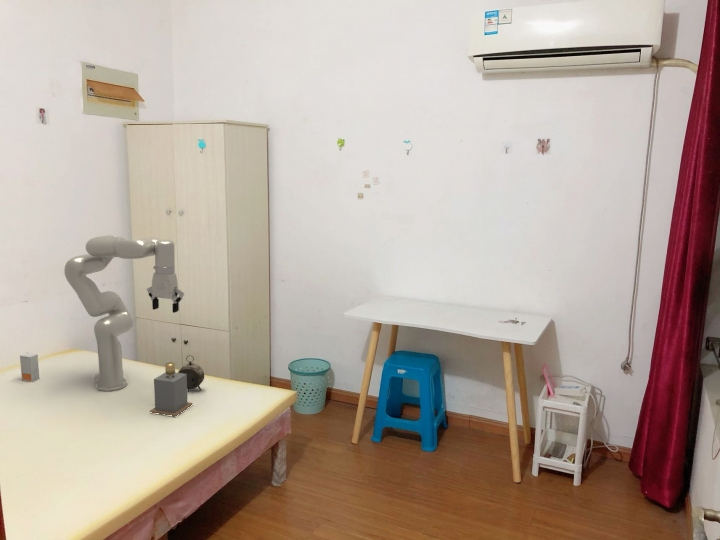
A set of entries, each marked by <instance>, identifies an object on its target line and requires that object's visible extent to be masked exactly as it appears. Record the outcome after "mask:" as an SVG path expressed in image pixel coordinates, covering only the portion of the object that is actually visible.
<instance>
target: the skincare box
mask: <svg viewBox="0 0 720 540" xmlns="http://www.w3.org/2000/svg"><path fill="white" fill-rule="evenodd" d="M19 360H20V361H19V362H20V372H21V380H22V381H24V380H26V381H25V382H29V381H31V382H30V383H33V381H34V382H36V381H38V379H39V380H40V368H39V354H38V353H33V352H25V353H23V354H20V355H19Z"/></svg>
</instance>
